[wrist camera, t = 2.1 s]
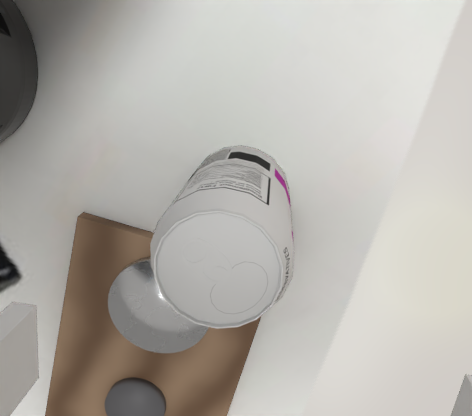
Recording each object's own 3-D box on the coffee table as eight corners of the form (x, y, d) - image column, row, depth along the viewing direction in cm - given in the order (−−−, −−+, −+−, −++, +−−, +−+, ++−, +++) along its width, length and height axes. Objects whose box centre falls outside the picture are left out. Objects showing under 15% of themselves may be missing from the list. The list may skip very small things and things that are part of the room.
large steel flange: (103, 330, 42) (99, 336, 41) (121, 243, 39) (117, 247, 38) (199, 358, 42) (197, 365, 41) (225, 273, 39) (223, 278, 38)
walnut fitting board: (49, 412, 48) (44, 420, 46) (83, 212, 40) (77, 216, 38) (209, 458, 48) (208, 468, 47) (275, 268, 40) (275, 274, 38)
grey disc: (103, 415, 45) (99, 423, 45) (113, 370, 43) (110, 377, 43) (159, 431, 45) (157, 439, 45) (172, 387, 43) (169, 394, 43)
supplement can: (308, 189, 37) (328, 271, 23) (243, 253, 39) (223, 363, 25) (237, 123, 36) (210, 166, 22) (174, 193, 38) (112, 273, 24)
